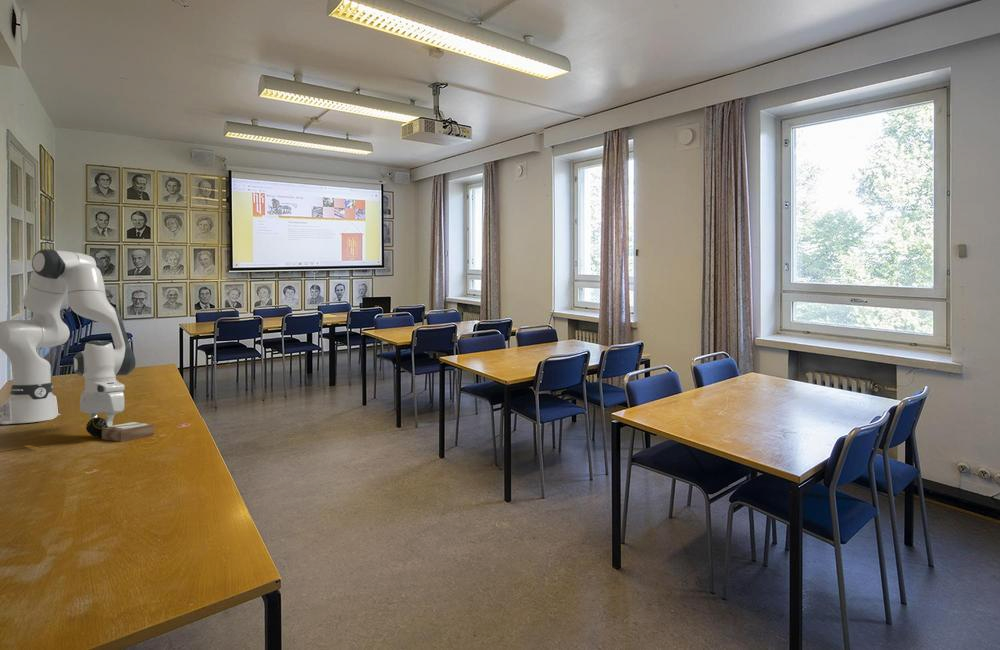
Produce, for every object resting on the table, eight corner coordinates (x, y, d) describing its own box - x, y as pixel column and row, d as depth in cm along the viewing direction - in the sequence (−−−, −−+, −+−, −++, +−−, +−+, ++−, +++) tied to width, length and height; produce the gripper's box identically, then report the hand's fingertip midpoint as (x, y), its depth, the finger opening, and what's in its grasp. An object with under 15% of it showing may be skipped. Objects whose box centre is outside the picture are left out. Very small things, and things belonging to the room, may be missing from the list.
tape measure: (99, 441, 185) (105, 434, 184) (80, 431, 182) (86, 424, 182) (109, 429, 191) (115, 423, 190) (90, 419, 188) (96, 413, 188)
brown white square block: (101, 438, 184) (101, 426, 184) (135, 432, 194) (134, 421, 194) (120, 441, 179) (120, 429, 179) (153, 435, 189) (153, 423, 189)
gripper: (73, 387, 189) (75, 426, 189) (108, 387, 180) (109, 428, 180) (93, 385, 194) (94, 423, 194) (127, 385, 186) (129, 425, 186)
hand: (102, 425), depth 187 cm, fingers open, 6 cm apart
